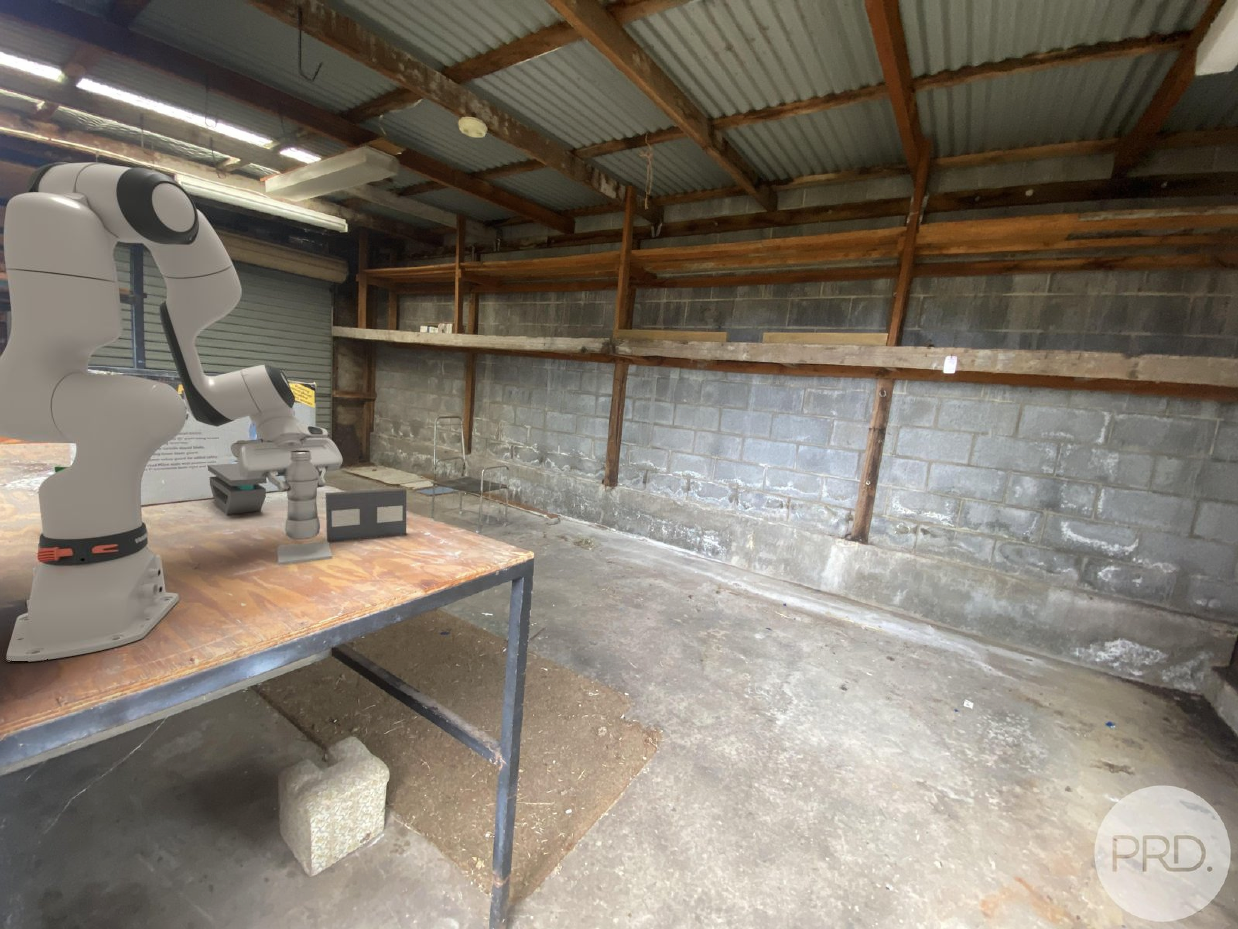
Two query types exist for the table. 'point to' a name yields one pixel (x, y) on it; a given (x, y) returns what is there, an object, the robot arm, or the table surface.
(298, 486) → the plastic bottle
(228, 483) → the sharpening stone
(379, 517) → the panel
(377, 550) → the table surface
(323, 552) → the rubber pad
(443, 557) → the table surface
